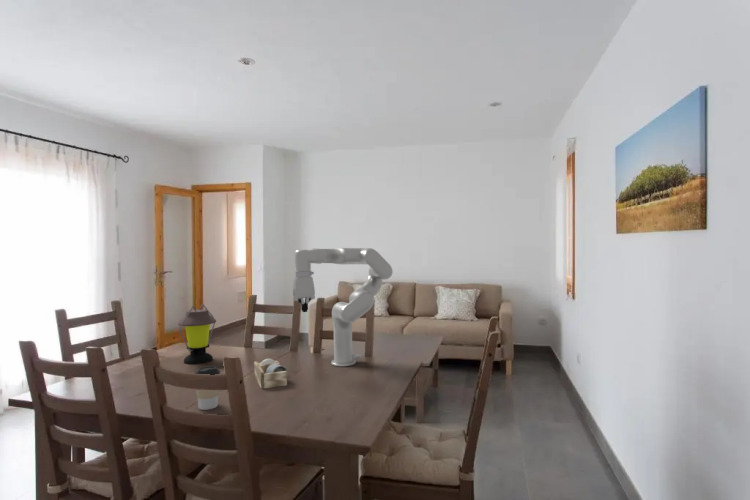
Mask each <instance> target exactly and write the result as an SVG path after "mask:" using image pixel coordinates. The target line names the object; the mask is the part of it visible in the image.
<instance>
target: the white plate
mask: <svg viewBox="0 0 750 500" xmlns="http://www.w3.org/2000/svg"><path fill="white" fill-rule="evenodd" d="M275 361H276V360H274V359H272V358H265V359H264V360H262V361H261V362H260V363H261V364H260V365H266V364H274V363H276V362H275Z"/></svg>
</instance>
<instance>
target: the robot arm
mask: <svg viewBox="0 0 750 500" xmlns="http://www.w3.org/2000/svg"><path fill="white" fill-rule="evenodd" d="M311 264H316V265H320V264H335V265H368V266H369V269H368V277H367V280H366V281H365V282H364V283H363V284H362V285H360V287H358V288H357V289H355V290H353V292H351V294H350V295H349V297H348V300H349V301H348V302H345V301H339V302H336V303H335V304H334V305H333V307H332V309H331V318H332V323H333V359H332V360H331V363H330V364H331V365H332V366H335V367H349V366H350V367H351V366H353V365H356V363H357V361H356V360H357V359H362V354H357V353H355V354H354V352H353V325H352V323H355V322H356V321H358V319H360V318H361V317H362V316H364V315H366V313H367V312H368V311H370V310H371V309H372V307H373V306H374V302H375V296H376V295H377V294H378V293H379V292H380V290H381V288H382V283H383V280H385V281H386V280H388V279H390V278H391V277H392V276H393V272H394V271H393V267H392V266H391V265H390V263H389V262H388V261H387V260H386V259H385V258H384V257H383V256H382V255H381V254H380V253H379V252H378V251H377V250H376V249H374V248H370V247H366V248H365V247H361V248H360V247H359V248H358V247H356V248H355V247H340V248H339V247H338V248H311V249H297V250H295V251H294V266H295V267H294V269H295V270H294V271H295V277H293V284H292V297H293V301H295V302H298V303H300V310H301V312H303V313H307V312H308V310H309V305H308V304H309V303H310V302H311V301H313V300H315V299H316V297H315V295H316V293H315V292H316V289H315V283H314V277H312V276H313V275H314V274H315V272H314V271H312V270H311V269H312V265H311Z"/></svg>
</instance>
